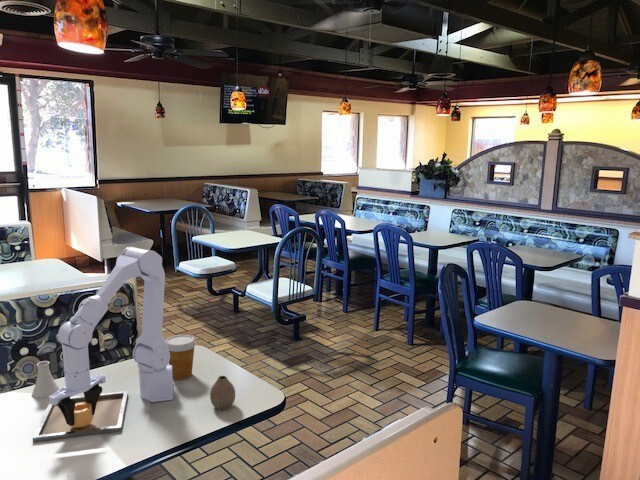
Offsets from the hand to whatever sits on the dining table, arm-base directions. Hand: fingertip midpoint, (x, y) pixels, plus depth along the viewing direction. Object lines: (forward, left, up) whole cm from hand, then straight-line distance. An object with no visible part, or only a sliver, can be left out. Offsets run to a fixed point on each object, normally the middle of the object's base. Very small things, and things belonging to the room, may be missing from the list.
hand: (80, 419), depth 132 cm
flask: (+13, -22, -3) cm, 26 cm away
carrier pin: (0, 0, -3) cm, 3 cm away
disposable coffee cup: (-25, -26, -3) cm, 36 cm away
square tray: (0, -5, -3) cm, 6 cm away
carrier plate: (0, -5, -3) cm, 6 cm away
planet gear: (0, 0, -1) cm, 1 cm away
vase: (-36, -3, -3) cm, 36 cm away
